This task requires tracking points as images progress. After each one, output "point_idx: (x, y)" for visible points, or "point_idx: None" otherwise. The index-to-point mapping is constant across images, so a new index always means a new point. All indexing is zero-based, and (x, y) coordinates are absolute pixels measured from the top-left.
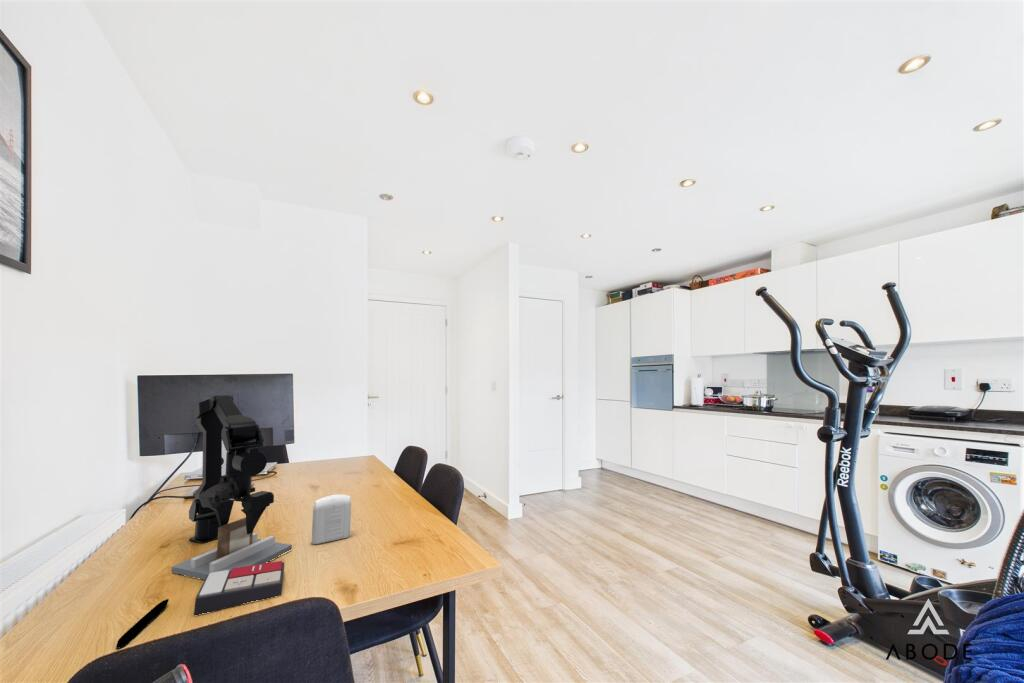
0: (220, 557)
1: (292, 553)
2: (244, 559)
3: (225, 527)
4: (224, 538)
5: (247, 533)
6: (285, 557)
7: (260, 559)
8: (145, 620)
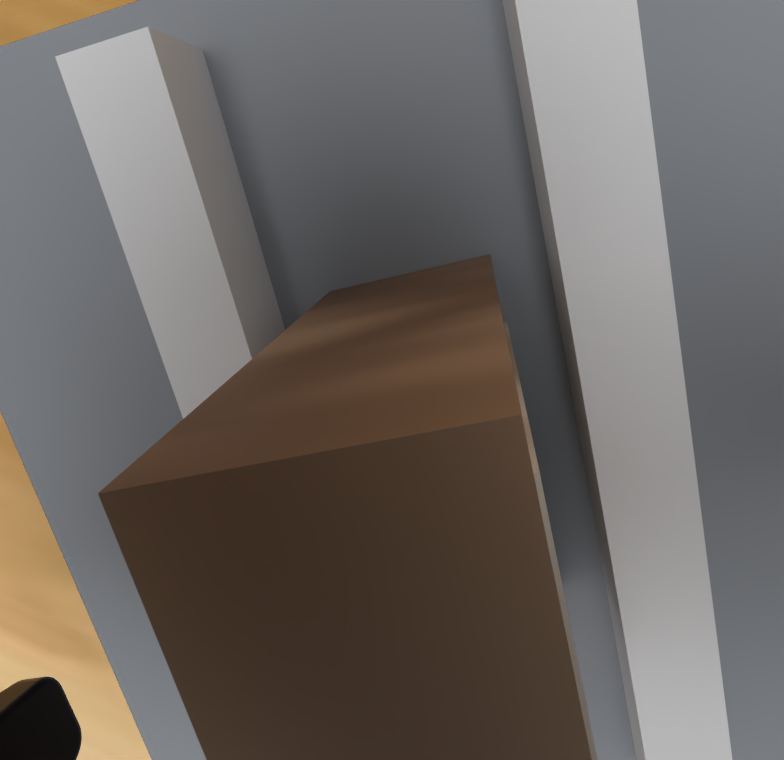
0: (417, 279)
1: (138, 746)
2: None
3: (281, 534)
4: (275, 375)
5: (25, 686)
6: (103, 680)
7: (72, 526)
8: None
